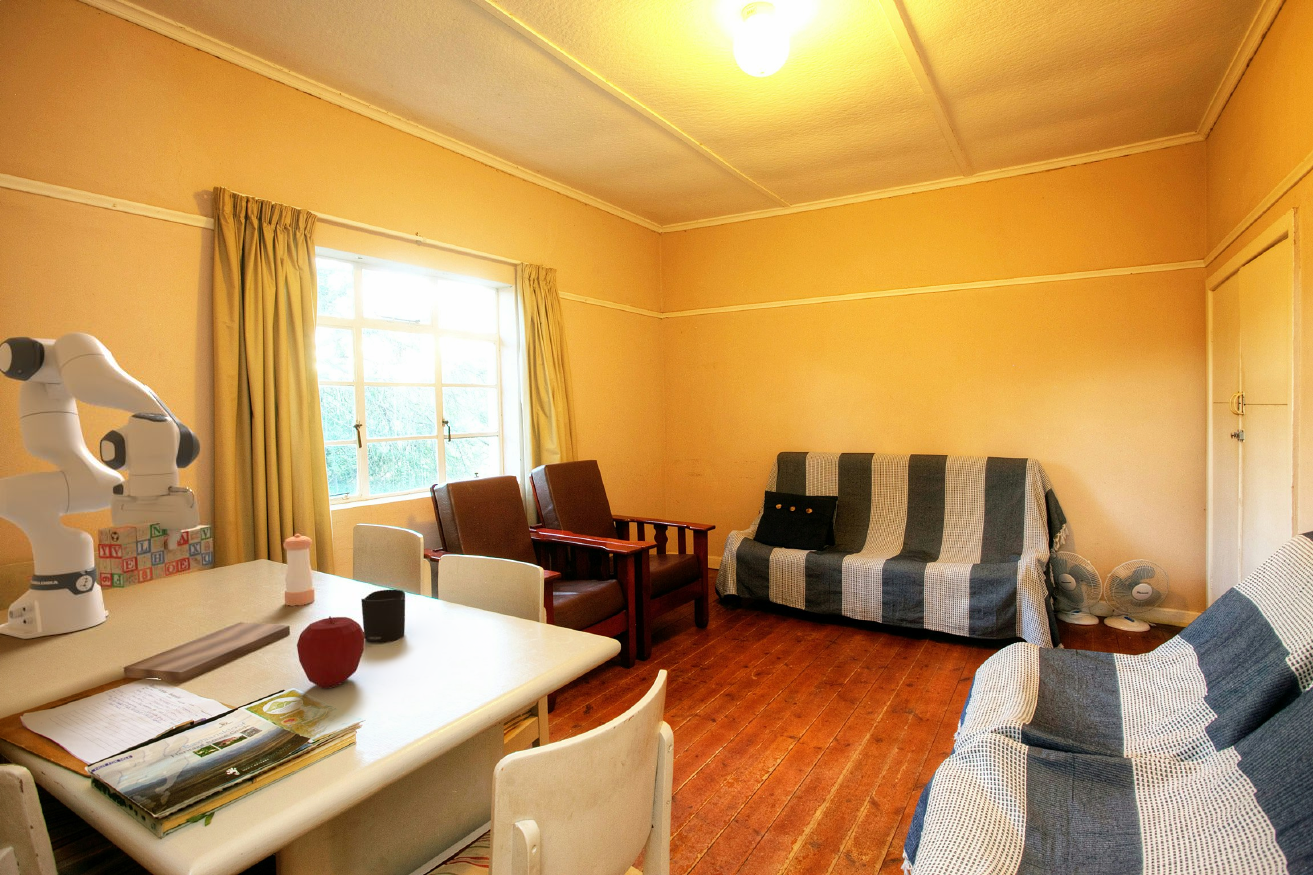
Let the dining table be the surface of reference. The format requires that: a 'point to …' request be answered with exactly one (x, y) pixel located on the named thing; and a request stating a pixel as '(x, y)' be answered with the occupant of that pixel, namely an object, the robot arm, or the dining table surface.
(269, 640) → the walnut board
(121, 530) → the stack of blocks
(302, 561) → the pepper shaker
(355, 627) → the apple
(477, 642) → the dining table surface
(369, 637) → the pen holder
